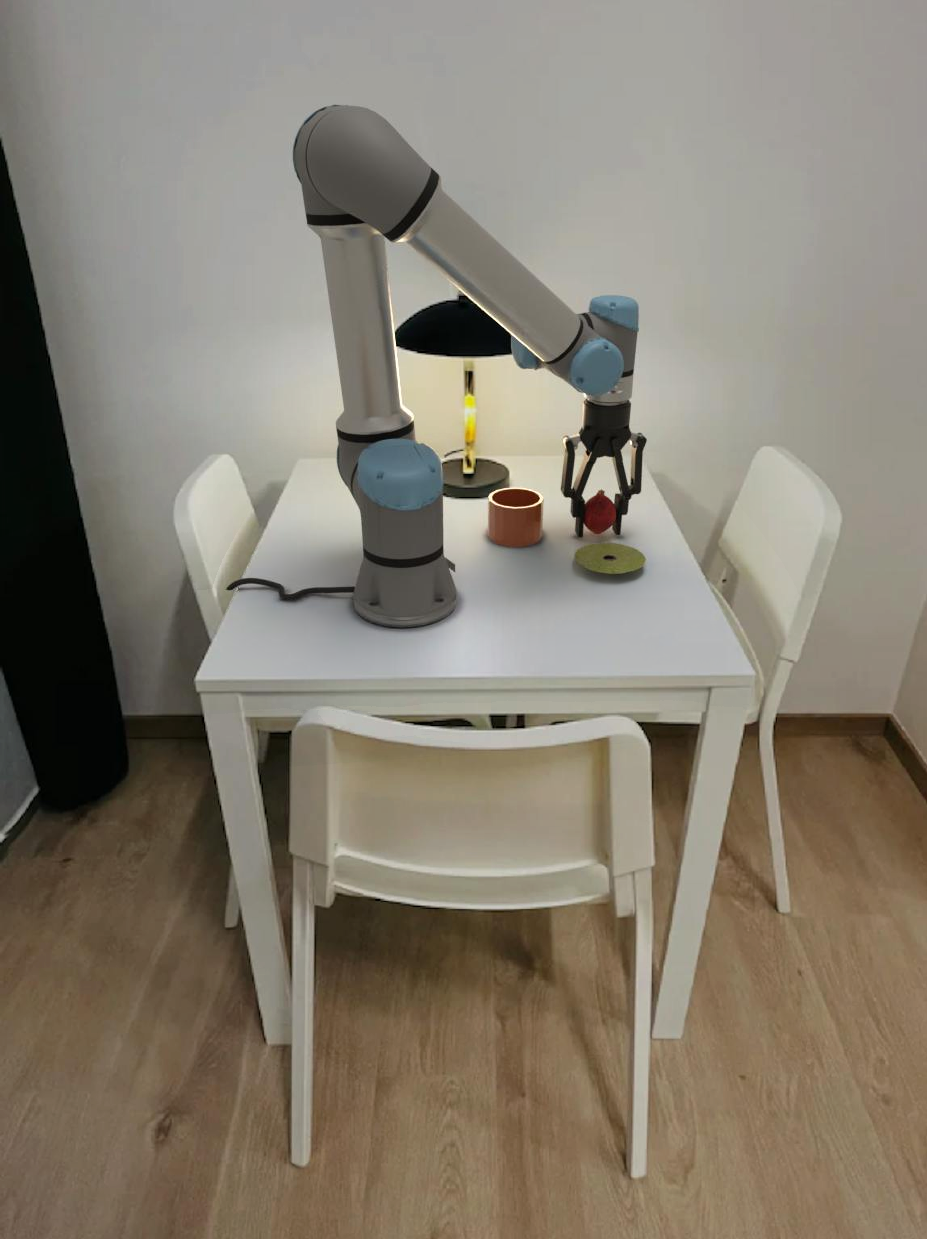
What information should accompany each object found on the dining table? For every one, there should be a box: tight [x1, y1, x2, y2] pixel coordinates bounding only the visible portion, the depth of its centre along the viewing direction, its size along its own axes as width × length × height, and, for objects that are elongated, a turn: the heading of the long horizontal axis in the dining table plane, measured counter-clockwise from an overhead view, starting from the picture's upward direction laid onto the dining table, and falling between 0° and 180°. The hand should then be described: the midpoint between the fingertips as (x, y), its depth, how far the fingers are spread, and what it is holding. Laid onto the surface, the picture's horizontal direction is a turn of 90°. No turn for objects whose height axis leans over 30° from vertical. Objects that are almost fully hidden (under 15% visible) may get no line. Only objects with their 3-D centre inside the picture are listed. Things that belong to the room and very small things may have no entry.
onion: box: [584, 489, 616, 536], centre depth 154 cm, size 6×6×8 cm
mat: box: [573, 542, 646, 575], centre depth 146 cm, size 11×11×2 cm
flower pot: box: [487, 487, 545, 548], centre depth 155 cm, size 9×9×7 cm
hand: (597, 532), depth 156 cm, fingers closed on onion, 6 cm apart
